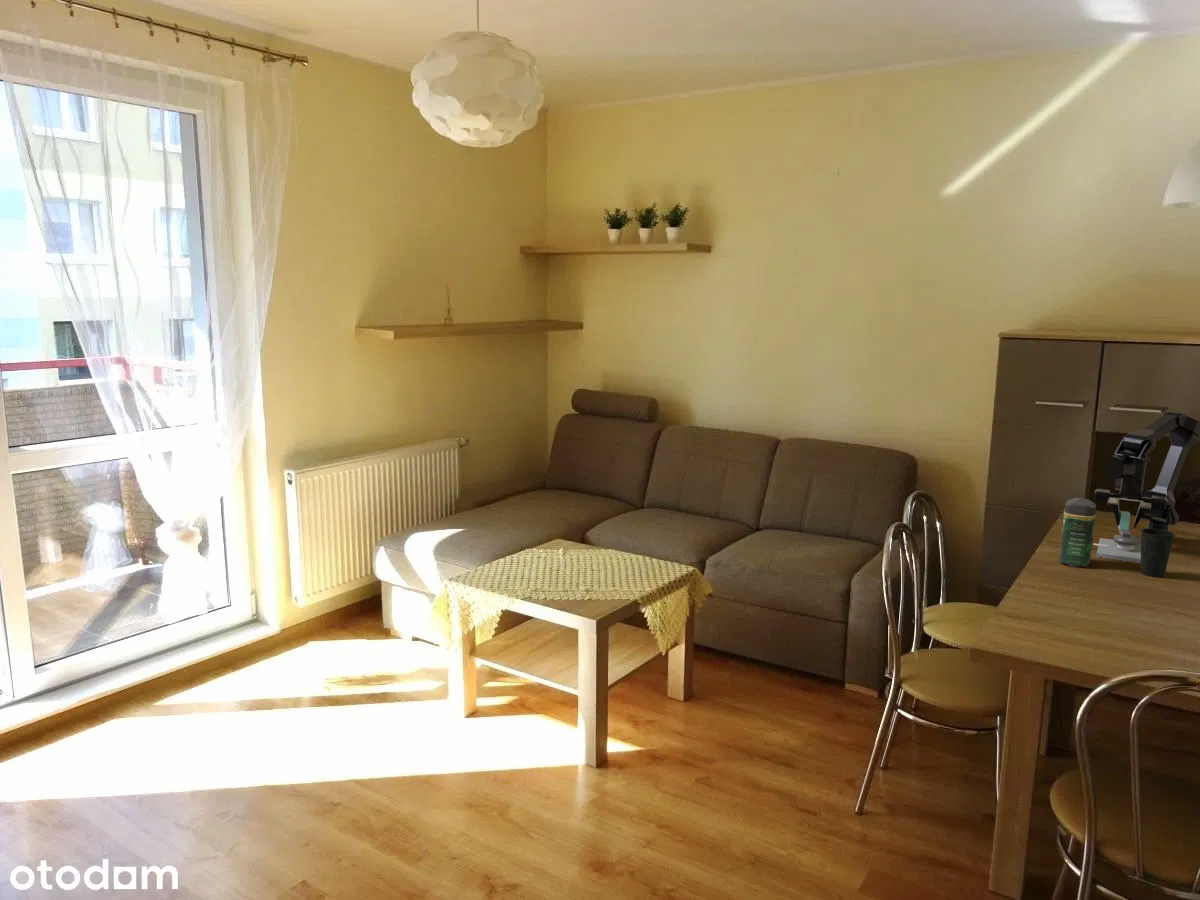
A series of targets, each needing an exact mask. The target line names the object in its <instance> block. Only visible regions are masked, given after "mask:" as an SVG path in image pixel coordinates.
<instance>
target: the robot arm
mask: <svg viewBox="0 0 1200 900" xmlns="http://www.w3.org/2000/svg"><path fill="white" fill-rule="evenodd" d="M1167 435H1168V437H1169V440H1170V447H1169V449H1168V452H1167V454H1166V457H1165V459H1164V462H1163V464H1162V465H1163V466H1162V467H1161V470H1160V473H1159V475H1158V477H1157V481H1156V484H1155V486H1154V487H1153V488H1152V489H1147V490H1145V492H1144V494H1143V490H1144V483H1145V477H1146V476H1145V475H1146V467H1147V463H1148V462H1150V461H1151V457H1150V456H1148V455H1149V454H1150V453H1151V452H1153V451H1154V449H1156V443H1157V442H1158V441H1159V440H1161V439H1162V438H1164V437H1165V436H1167ZM1199 441H1200V420H1199V419H1195V418H1192V417H1190V416H1188V415H1186V414H1185V413H1183V412H1177V411H1171V410H1170V411H1166V412H1164V413H1163V415H1162V416H1161V417H1158V418H1157V419H1156V420H1155V421H1154V422H1152V423H1150V424H1149V425H1147V426H1146V427H1144V428H1143V429H1138V430H1133V431H1131V432H1128V433H1126V434H1125V435H1124V436H1123V437H1122V439H1121V441H1120V443H1119V444H1118V446H1117V447H1116V449H1115V451H1114V453H1113V455H1112V459H1110V460H1108V461H1107V462H1106V463H1105V465H1104V468H1103V470H1104V474H1105V475H1106V476H1107V478H1109V479H1112V480H1116V481H1115V486H1114V487H1115V488H1114V490H1117V491H1119V493H1113V492H1112V493H1111V490H1110V489H1105V488H1104V489H1103V488H1096V489H1095V490H1094V493H1093V501H1096V502H1104V503H1107V506H1110V507H1111V509H1112V512H1113V514H1114V518H1115V523H1116V526H1117V527H1118V526H1119V513H1120V501H1121V502H1128V503H1137V504H1139V505H1138V509H1137V512H1136V516H1135V519H1134V524H1133V528H1134V529H1135V528H1137V525H1138V524H1139V522H1140V521H1141V520H1147V526H1146V528H1154V529H1162V530H1167V531H1170V525H1172V526H1176V525H1177V524H1178V522H1179V519H1180V516H1179V514H1178V512H1177V510H1176V508H1175V506H1176V499H1175V496H1174V491H1175V488H1176V485H1177V483H1178V480H1179V477H1180V474H1181V471H1182V469H1183V466H1184V464H1185V462H1186V459H1187V456H1188V454H1189V451H1190V449H1191V448H1193V447H1194V446H1196V445H1197V444H1198V443H1199Z"/></svg>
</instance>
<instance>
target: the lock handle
mask: <svg viewBox="0 0 1200 900" xmlns="http://www.w3.org/2000/svg"><path fill="white" fill-rule="evenodd" d="M1130 520H1131V513H1130V511H1124V510H1123V511H1122V510H1119V526H1117V528H1118V533H1119V534H1114V536H1113V540H1114V542H1116V543H1119V544H1123V545H1138V544H1139V543H1140V538H1139V537H1137V536H1133V535H1132V533H1131V532H1130V531H1129V528H1130V522H1131V521H1130Z"/></svg>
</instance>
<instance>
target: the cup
mask: <svg viewBox="0 0 1200 900" xmlns="http://www.w3.org/2000/svg"><path fill="white" fill-rule="evenodd" d="M1174 538H1175V533H1174V532H1172V531H1170V530H1169V531H1167V530H1162V529H1154V528H1147V527H1145V528H1142V529H1141V530H1140V543H1141V563H1140V573H1142V575H1143V576H1145V577H1146V576H1147V577H1150V576H1151V577H1150V578H1164V577H1165V574H1166V571H1167V566H1168V562H1169V558H1170V554H1171V550H1172V546H1173V541H1174ZM1163 576H1164V577H1163Z"/></svg>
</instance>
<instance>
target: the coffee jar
mask: <svg viewBox="0 0 1200 900" xmlns="http://www.w3.org/2000/svg"><path fill="white" fill-rule="evenodd" d="M1096 513H1097V504H1096V503H1095V502H1093V501H1092V500H1090V498H1083V497H1082V498H1081V497H1073V498H1071V499H1068V500H1067V501H1066V502H1065V504H1064V512H1063V520H1062V521H1063V522H1062V529H1061V530H1062V531H1061V537H1060V538H1061V539H1060V547H1059V556H1058V560H1059V562H1060V563H1061V564H1065V565H1068V566H1069V567H1075V566H1076V567H1088V566H1089V564H1090V562H1091V556H1092V555H1091V554H1092V548H1093V541H1094V533H1095V532H1094V531H1095V527H1096V526H1095V523H1096V516H1097V515H1096Z"/></svg>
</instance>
